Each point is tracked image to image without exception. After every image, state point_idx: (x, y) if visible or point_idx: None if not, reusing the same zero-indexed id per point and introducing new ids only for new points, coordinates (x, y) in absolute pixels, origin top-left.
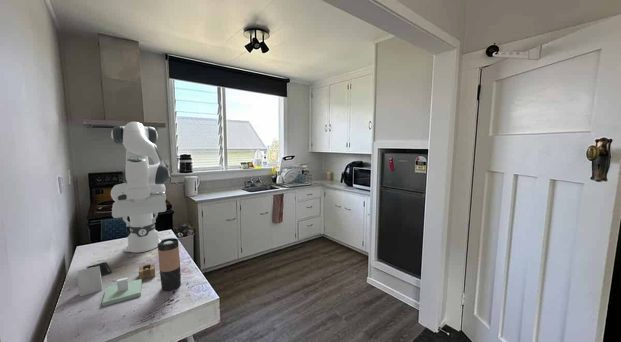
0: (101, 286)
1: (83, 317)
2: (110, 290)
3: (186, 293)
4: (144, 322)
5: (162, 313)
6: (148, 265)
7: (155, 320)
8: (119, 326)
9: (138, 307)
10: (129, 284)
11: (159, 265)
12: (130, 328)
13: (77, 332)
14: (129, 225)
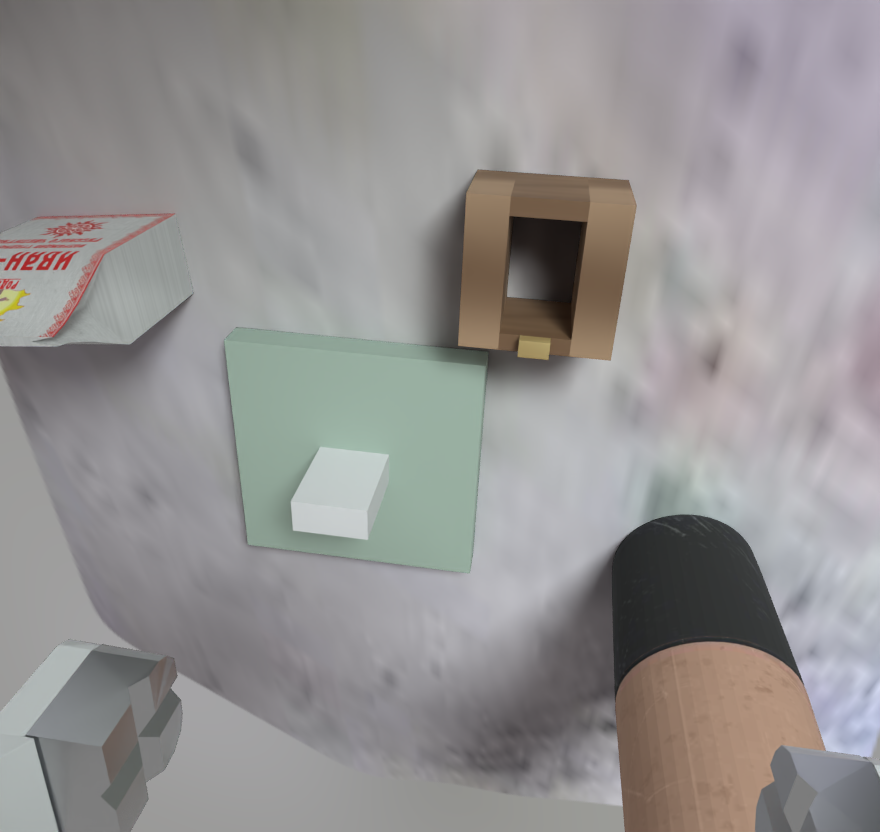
0: (176, 301)
1: (187, 570)
2: (264, 415)
3: None
4: (480, 775)
5: (565, 770)
6: (565, 219)
7: (527, 791)
8: (375, 736)
9: (456, 657)
10: (391, 409)
11: (619, 754)
12: (422, 773)
13: (204, 668)
14: (145, 755)
